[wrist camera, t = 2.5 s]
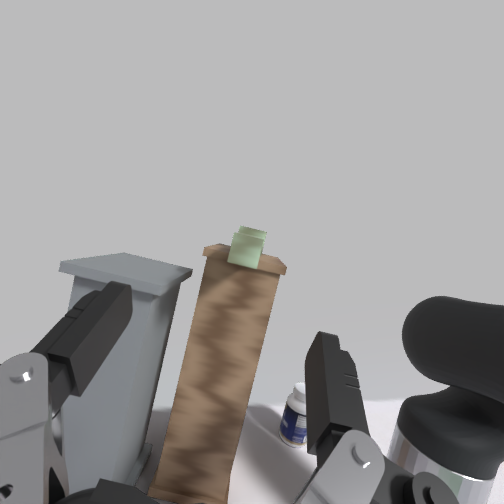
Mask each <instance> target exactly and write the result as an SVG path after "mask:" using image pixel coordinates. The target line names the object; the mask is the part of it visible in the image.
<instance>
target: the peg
mask: <svg viewBox="0 0 504 504" xmlns="http://www.w3.org/2000/svg"><path fill="white" fill-rule="evenodd" d="M266 233H267V232H264V231H260V230H256V229H252V228H248V227H244V226H240V228H239V233H234V236H233V240H232V244H231V248H230V252H229V257H228V261H227V262H229V263H234V264H238V265H242V266H246V267H250V268H254V269H257V266H258V261H259V257H260V256H261V254H262V249H263V246H264V242H265V237H266Z"/></svg>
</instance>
